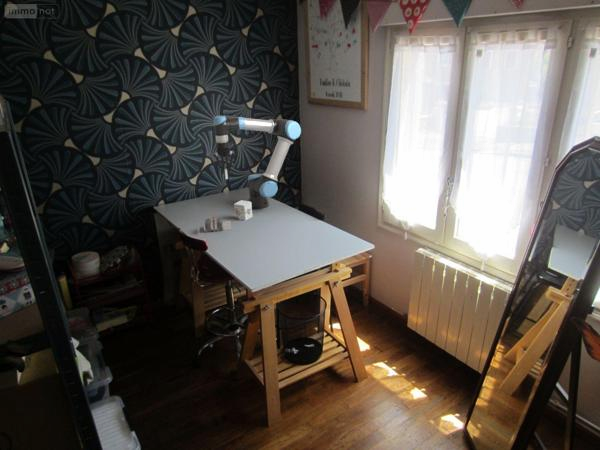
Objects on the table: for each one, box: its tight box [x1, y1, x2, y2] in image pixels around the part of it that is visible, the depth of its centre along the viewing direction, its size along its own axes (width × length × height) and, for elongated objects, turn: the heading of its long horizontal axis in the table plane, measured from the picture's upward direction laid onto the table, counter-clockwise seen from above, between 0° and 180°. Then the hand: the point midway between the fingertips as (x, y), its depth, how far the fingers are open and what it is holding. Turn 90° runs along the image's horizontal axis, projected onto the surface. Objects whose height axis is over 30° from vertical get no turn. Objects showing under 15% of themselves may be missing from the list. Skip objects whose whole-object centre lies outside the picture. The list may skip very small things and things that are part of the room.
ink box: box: [233, 199, 254, 221], centre depth 271 cm, size 9×9×12 cm
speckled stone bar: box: [203, 220, 232, 233], centre depth 255 cm, size 16×4×4 cm, turn 99°
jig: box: [204, 214, 224, 233], centre depth 255 cm, size 32×9×9 cm, turn 99°
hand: (226, 178), depth 265 cm, fingers closed
